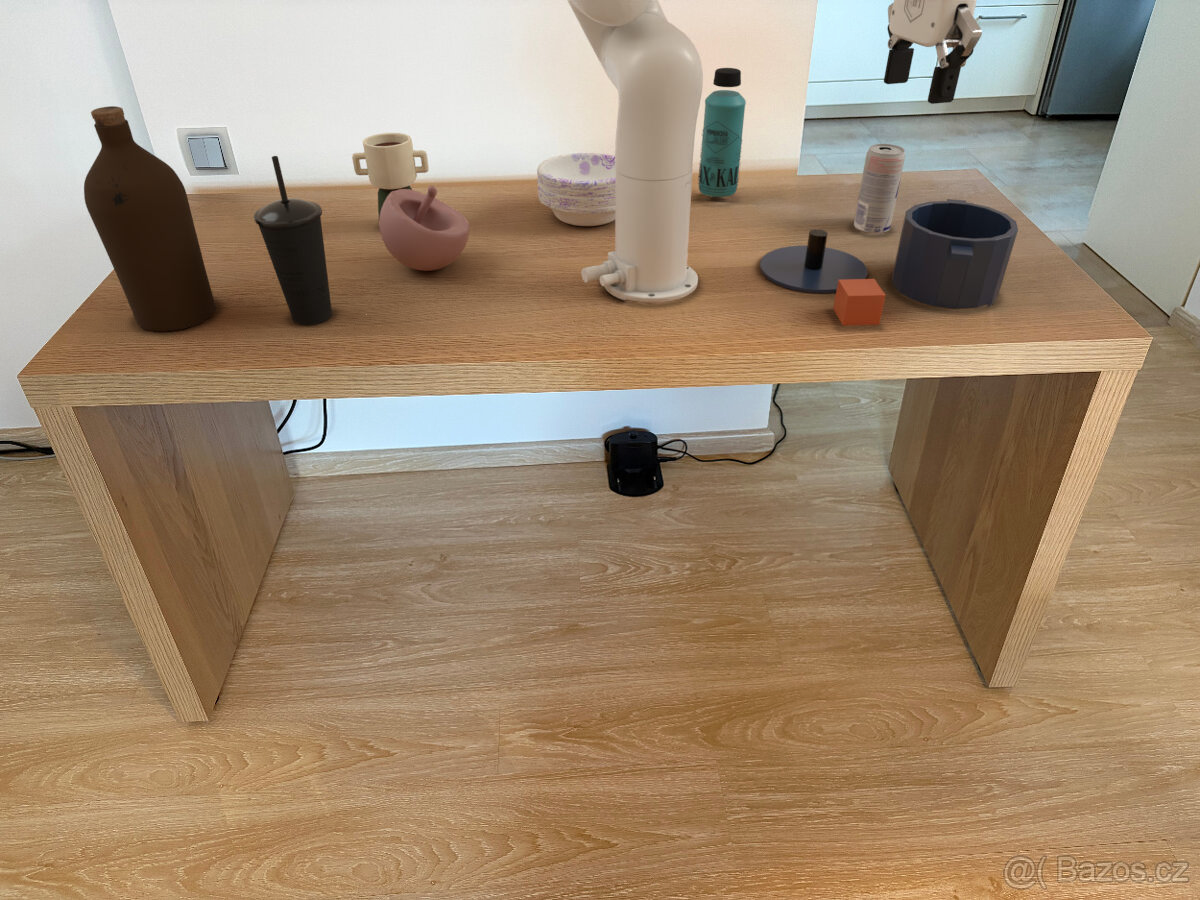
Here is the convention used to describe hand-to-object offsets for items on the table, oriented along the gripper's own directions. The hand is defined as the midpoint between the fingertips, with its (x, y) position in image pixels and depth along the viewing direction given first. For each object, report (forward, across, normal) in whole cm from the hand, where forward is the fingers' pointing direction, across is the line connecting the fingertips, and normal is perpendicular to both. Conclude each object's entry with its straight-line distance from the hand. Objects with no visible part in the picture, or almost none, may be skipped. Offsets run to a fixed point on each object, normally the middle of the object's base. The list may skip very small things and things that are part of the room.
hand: (916, 92), depth 104 cm
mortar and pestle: (+23, -17, -61) cm, 67 cm away
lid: (+22, 0, -11) cm, 25 cm away
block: (+23, +14, -12) cm, 29 cm away
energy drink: (+23, -12, +5) cm, 26 cm away
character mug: (+23, -34, -63) cm, 76 cm away
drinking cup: (+23, -7, -77) cm, 80 cm away
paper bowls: (+23, -29, -35) cm, 51 cm away
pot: (+23, +9, +4) cm, 25 cm away
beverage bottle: (+23, -30, -12) cm, 40 cm away
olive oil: (+23, -12, -93) cm, 97 cm away
